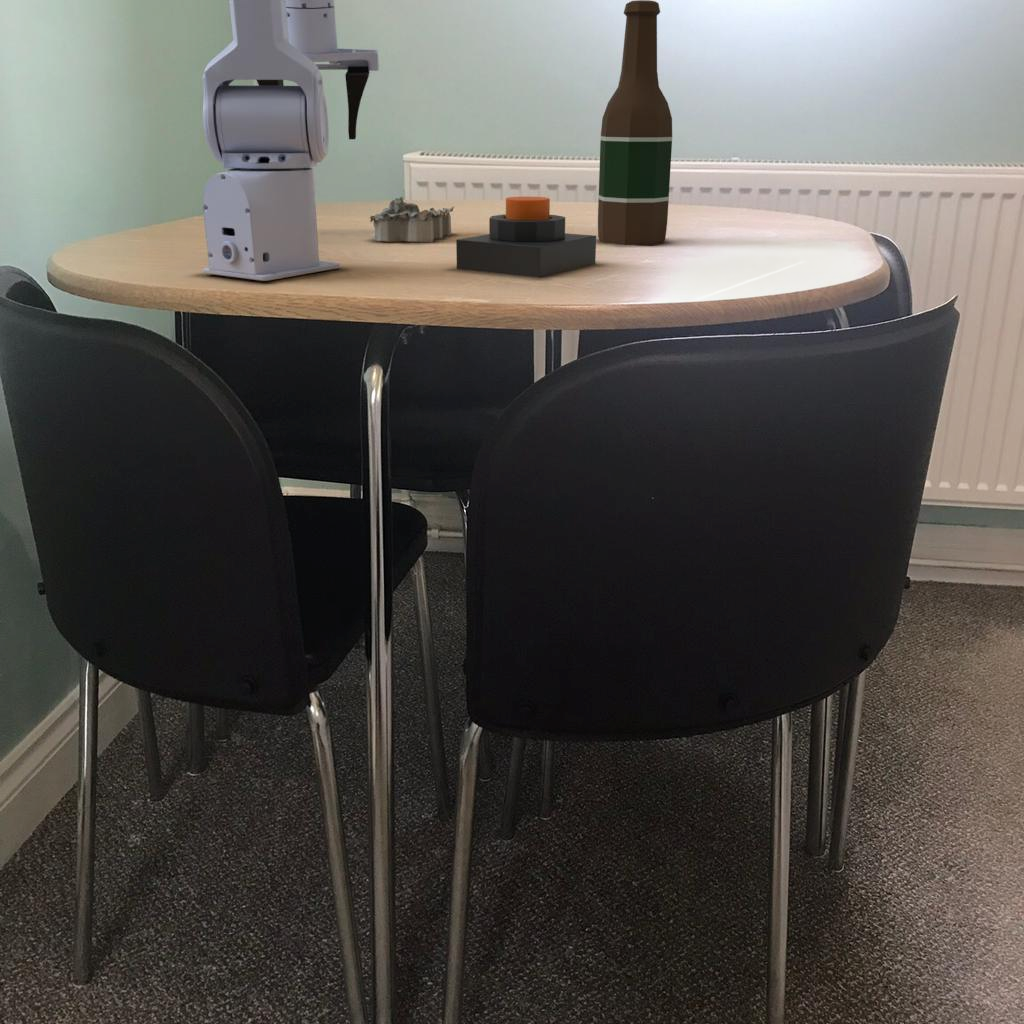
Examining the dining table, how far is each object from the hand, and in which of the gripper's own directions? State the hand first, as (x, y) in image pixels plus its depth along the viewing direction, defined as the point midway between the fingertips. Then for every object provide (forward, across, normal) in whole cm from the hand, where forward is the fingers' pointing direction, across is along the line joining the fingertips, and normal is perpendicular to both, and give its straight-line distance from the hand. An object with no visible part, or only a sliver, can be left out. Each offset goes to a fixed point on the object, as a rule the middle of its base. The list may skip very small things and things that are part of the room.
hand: (318, 138), depth 117 cm
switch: (+2, -21, +31) cm, 37 cm away
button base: (+6, -21, +31) cm, 38 cm away
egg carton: (+10, -11, +8) cm, 16 cm away
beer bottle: (+9, -35, +13) cm, 38 cm away
